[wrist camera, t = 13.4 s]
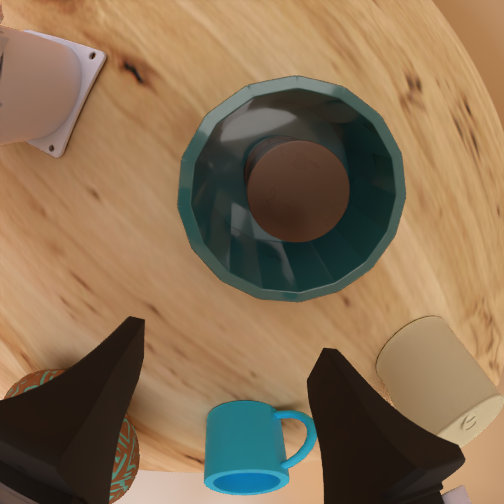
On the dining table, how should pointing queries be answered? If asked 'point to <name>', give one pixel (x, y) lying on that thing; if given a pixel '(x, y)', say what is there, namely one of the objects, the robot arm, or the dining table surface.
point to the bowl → (235, 197)
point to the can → (438, 381)
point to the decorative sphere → (127, 442)
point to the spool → (295, 188)
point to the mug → (250, 448)
